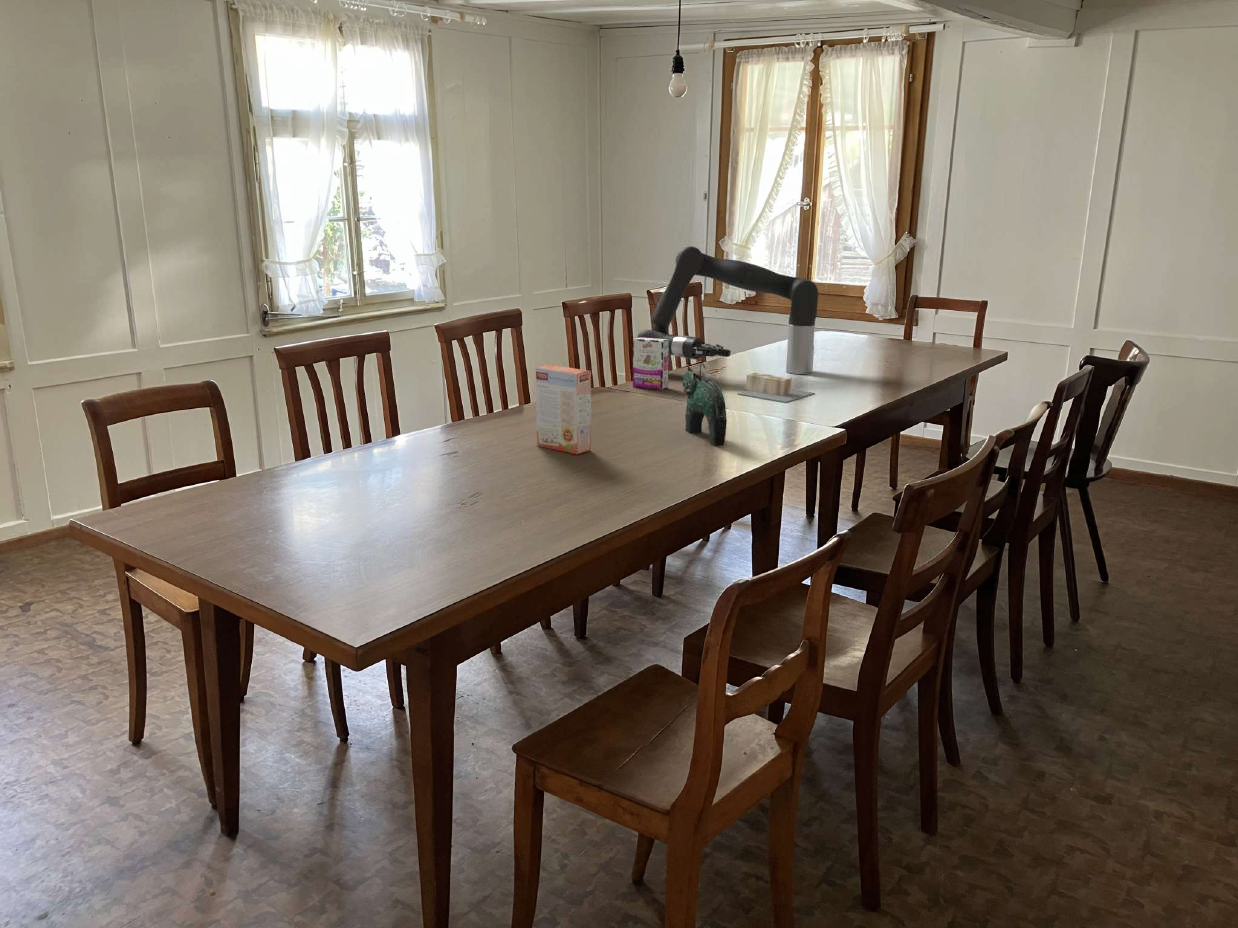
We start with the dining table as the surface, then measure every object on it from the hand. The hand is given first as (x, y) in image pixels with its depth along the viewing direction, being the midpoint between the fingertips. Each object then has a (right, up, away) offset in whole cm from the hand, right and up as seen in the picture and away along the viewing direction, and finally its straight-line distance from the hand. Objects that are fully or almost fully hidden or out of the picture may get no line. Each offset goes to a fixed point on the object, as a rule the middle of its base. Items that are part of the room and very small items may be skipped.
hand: (729, 353), depth 324 cm
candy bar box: (-26, -12, 0) cm, 29 cm away
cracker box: (-51, -33, -74) cm, 96 cm away
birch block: (+7, -10, -3) cm, 12 cm away
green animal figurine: (-14, -30, -62) cm, 70 cm away
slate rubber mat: (+14, -14, -9) cm, 22 cm away
